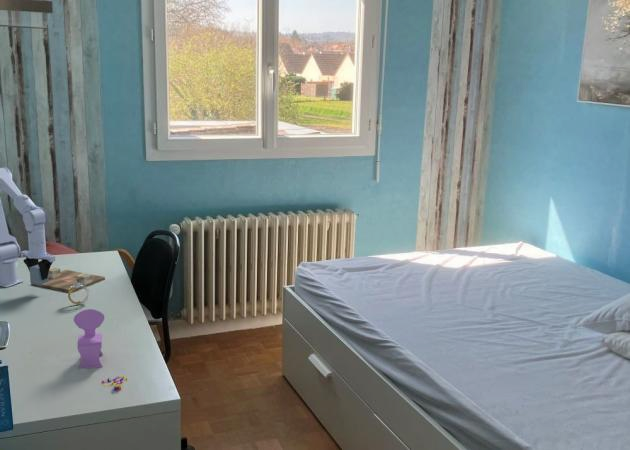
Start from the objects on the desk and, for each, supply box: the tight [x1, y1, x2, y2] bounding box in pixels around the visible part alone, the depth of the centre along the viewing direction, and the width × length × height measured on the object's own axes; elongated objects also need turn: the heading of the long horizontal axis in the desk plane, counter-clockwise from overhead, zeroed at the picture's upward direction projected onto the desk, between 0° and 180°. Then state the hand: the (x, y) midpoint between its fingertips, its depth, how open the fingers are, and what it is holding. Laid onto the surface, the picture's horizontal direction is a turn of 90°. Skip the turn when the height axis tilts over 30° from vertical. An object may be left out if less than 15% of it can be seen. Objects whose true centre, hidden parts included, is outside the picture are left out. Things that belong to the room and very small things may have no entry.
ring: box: [67, 282, 90, 306], centre depth 233 cm, size 7×3×8 cm, turn 110°
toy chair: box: [73, 308, 105, 370], centre depth 188 cm, size 8×9×15 cm
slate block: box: [29, 265, 49, 285], centre depth 242 cm, size 4×4×6 cm
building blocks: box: [101, 375, 128, 392], centre depth 178 cm, size 6×8×2 cm
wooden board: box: [30, 266, 106, 294], centre depth 257 cm, size 20×18×4 cm
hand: (39, 278), depth 242 cm, fingers closed on slate block, 4 cm apart
